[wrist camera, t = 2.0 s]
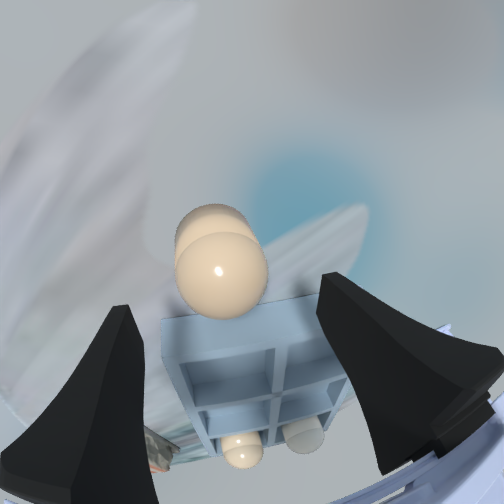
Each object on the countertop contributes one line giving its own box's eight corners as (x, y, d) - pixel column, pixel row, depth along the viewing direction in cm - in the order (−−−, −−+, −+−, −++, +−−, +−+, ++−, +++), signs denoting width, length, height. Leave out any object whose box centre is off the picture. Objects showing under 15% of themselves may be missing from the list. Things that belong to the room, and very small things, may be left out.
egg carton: (360, 284, 19) (382, 311, 17) (318, 410, 30) (326, 430, 27) (161, 319, 17) (161, 357, 14) (206, 435, 27) (210, 457, 25)
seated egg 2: (316, 400, 26) (333, 440, 22) (310, 415, 28) (325, 451, 24) (279, 410, 25) (293, 452, 21) (276, 424, 27) (289, 462, 23)
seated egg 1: (255, 415, 25) (268, 459, 20) (255, 429, 27) (267, 468, 23) (215, 423, 24) (224, 467, 20) (219, 436, 26) (229, 475, 22)
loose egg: (250, 199, 14) (282, 251, 10) (252, 265, 16) (278, 330, 12) (169, 209, 13) (165, 268, 9) (181, 276, 15) (186, 346, 11)
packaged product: (138, 457, 19) (184, 476, 25) (136, 416, 23) (179, 444, 29) (28, 455, 18) (78, 479, 24) (32, 424, 22) (78, 452, 28)
